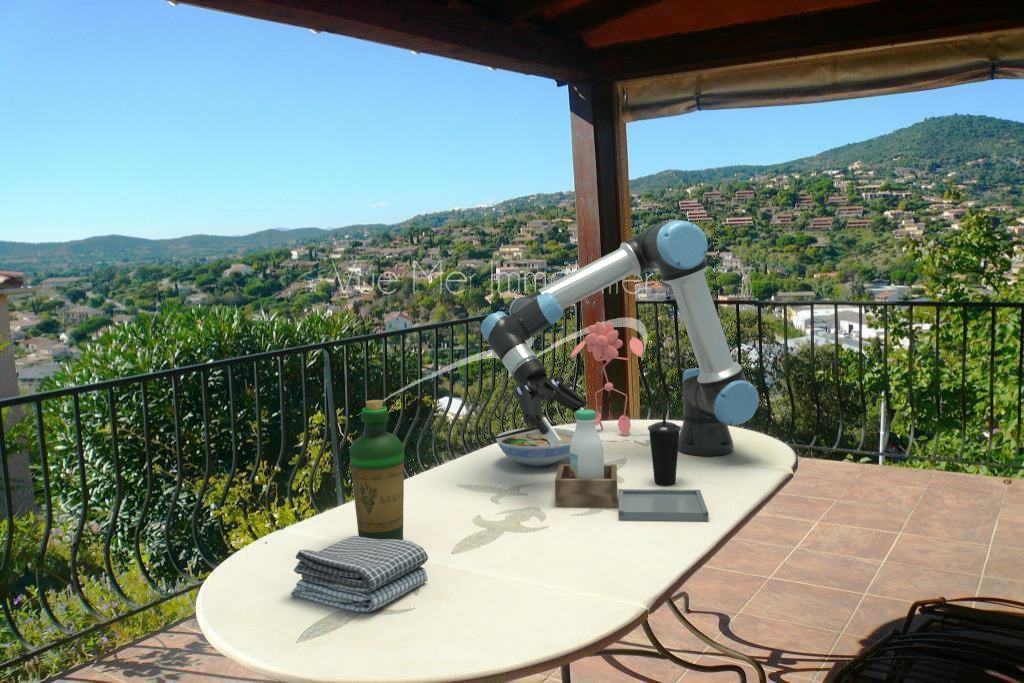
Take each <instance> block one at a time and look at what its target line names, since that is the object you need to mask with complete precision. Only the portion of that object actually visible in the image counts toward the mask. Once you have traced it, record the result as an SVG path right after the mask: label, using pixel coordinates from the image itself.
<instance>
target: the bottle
mask: <svg viewBox="0 0 1024 683" xmlns="http://www.w3.org/2000/svg"><path fill="white" fill-rule="evenodd" d="M383 401H384V400H383V399H371V400H366V401H365V403H366V404H365V407H362V410H361V418H360V422H363V424H364V431H365V432H364V433H363V434H362V435H360V436H359V437H357V438H355V440H353V441H352V444H350V447H349V449H348V452H349V461H350V469H351V480H352V490H353V496H354V507H355V508H354V509H355V516H356V524H357V533H358V534H357V536H360V537H364V538H372V539H397V540H404V501H405V500H404V498H405V497H404V494H405V493H404V492H405V491H404V490H405V486H404V484H405V483H404V482H405V481H404V480H405V447H404V444H403V443H402V441H401V440H400V439H399V438H398V437H397V436H396V435H395V434H393V433H391V432H388V431H387V421H388V420H390V417H389V413H388V407H387V406H384V405H383V403H384V402H383Z"/></svg>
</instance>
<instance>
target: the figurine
mask: <svg viewBox="0 0 1024 683" xmlns="http://www.w3.org/2000/svg"><path fill="white" fill-rule="evenodd" d="M588 330H589V332H590V333H588V334H587V335H586V336H585V337H584V340H583V341H581V342H580V343H579V344H577V346H576V347H575V348H574V349H573V351H572V353H571V355H570V359H573V358H574V357H575V356H577V355H578V354H579V353H580V352H581V351H582V350H583V349H584V347H585V345H587V348H586V350H587V352H588V353H592V356H593V359H594V360H595V361H596V362H602V361H605V362H606V363H605V364H603V366H602V370H603V373H604V376H605V380H606V382H605V384H604V387H603V388H601V389H599V390H597V391H595V393H594V396H595V398H594V399H595V408H596V410H595V411H596V421H595V425H596V426H597V427H598V426H599V425H600V429H601V430H602V431H604V426H603V423H602V421H601V420H602V412H601V411H599V410H598V409H599V408H598V399H597V397H598V396H597V393H600V392H601V391H603V390H605V391H606V392H611V391H615V392H617V393H619V394H622V395H624V396H625V403H624V410H623V414H622V415H620V416H619V418H618V422H617V426H618V429H619V431H620V432H621V433H622V434H623V435H624V437H626V436H627V434H629V433H630V429H631V425H632V422H631V420H630V418H629V417H628V415H626V410H627V403H628V395H627V394H626V393H624V392H621V391H619V390H618V389H616V388H614V384H613V383H612V382H609V380H608V375H607V372H606V371H607V370H606V369H605V367H606V366H607V365H608V364H609V363H610V362H611V361H612V360H613V359H617V360H618V359H619V360H622V361H623V360H625V361H628V362H629V361H630V360H631V358H632V353H633V355H636V356H637V357H639V358H642V356H643V353H644V351H645V350H644V344H643V342H642V341H641V340H640V339H638V338H637V337H635V336H631V339H630V340H629V347H630V348H629V349H630V350H629V355H628V357H627V358H626V357H620V356H619V351H618V350H619V349H620V348H621V347H622V346H623V345H624V343H623V340H621V339H619V338H618V337H619V331H618V330H617V329H614V325H613V322H612V321H608V322H606V324H605V325H604V324H603V323H602V322H600V321H596V322H595V325H594V324H591V325H589V326H588ZM625 441H626V442H628V441H630V440H629V439H625V440H623V442H625ZM609 442H610V443H614V442H616V443H617V440H607V443H609Z"/></svg>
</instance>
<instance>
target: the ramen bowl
mask: <svg viewBox="0 0 1024 683" xmlns="http://www.w3.org/2000/svg"><path fill="white" fill-rule="evenodd" d="M548 422H549V423H550V425H551V426H552V427H553V429H554V430H555V432H556V433H557V434H558V436H559V437H560V439H561V441H560V442H559V443H558V445H557V446H556V447H555V448H552V446H551V445H550V443H549V442H548V440H547V439H546V438H545V436H544V435H543V434H541V432H540V431H539V429H538V428H537V427H536V425H535V426H534V427H532V426H531V427H526V428H525V427H524V428H518V429H512V430H507V431H505V432H500V433H499V434H497V435H496V436H495V437H491V438H486V439H485V441H491V440H495V441H496V442H497V444H498V446H499V448H500V449H501V451H502V452H503V454H504V455H505V456H507V457H508V458H510V459H511V460H513V461H516V462H518V463H521V464H524V465H525V466H528V467H533V468H534V467H535V468H541V467H547V466H551V465H553V464H554V463H557V462H559V461H561V460H563V459H565V458H567V457H568V456H569V454H570V443H571V439H572V437H573V435H574V432H575V430H571V429H566V428H560V427H559V428H557V427H555V426H557V422H552V421H548Z"/></svg>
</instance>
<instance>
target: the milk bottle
mask: <svg viewBox="0 0 1024 683" xmlns="http://www.w3.org/2000/svg"><path fill="white" fill-rule="evenodd" d="M596 413H597V411H596V410H593V409H585V410H578V411H576V412H574V417H575V418H574V419H575V422H576V426H575V429H574V435H573V437H572V439H571V443H570V454H569V455H568V456H569V464H570V479H604V464H605V460H604V459H605V457H604V446H603V440H602V439H601V436H600V435H599V432H598V430H597V429H596V426H595V421H596Z"/></svg>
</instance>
